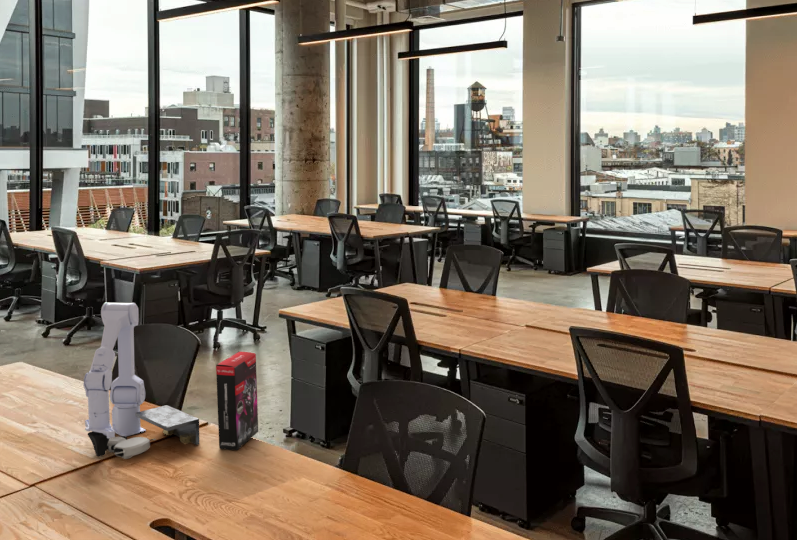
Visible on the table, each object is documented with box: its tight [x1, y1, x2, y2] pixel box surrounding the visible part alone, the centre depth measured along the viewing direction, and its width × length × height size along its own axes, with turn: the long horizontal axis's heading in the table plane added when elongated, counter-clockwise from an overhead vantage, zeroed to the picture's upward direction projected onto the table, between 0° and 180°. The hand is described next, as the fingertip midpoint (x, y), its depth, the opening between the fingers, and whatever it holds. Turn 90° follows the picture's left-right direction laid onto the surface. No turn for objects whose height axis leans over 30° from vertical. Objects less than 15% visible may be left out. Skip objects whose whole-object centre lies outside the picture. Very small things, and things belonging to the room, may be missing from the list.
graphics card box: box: [215, 350, 259, 451], centre depth 237 cm, size 17×7×27 cm, turn 168°
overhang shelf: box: [136, 404, 201, 446], centre depth 237 cm, size 19×11×8 cm, turn 48°
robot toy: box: [106, 436, 157, 460], centre depth 227 cm, size 12×4×15 cm
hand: (100, 455), depth 221 cm, fingers closed
